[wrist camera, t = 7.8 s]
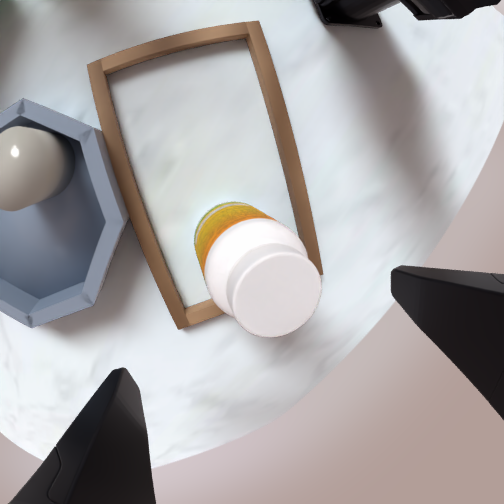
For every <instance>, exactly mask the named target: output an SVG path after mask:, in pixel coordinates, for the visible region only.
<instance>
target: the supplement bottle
mask: <svg viewBox="0 0 504 504" xmlns="http://www.w3.org/2000/svg"><path fill="white" fill-rule="evenodd" d="M194 246H195V251H196V254H197V258H198V260H199V264H200V267H201V270H202V273H203V276H204V280H205V283H206V286H207V288H208V291H209V293H210V296H211V297H212V299H213V301H214V302H215V303H216V305H217V306H218V307H219V308H220V309H221V310H222V311H224V312H225V313H226V314H228V315H230V316H231V317H234V318H236V320H237V321H238V323H239V324H240V325H241V326H242V327H243V328H244V329H245V330H246V331H248V332H249V333H251V334H253V335H256V336H260V337H268V338H272V337H279V336H283V335H286V334H289V333H291V332H293V331H295V330H296V329H298V328H300V327H301V326H302V325H303V324H304V323H306V322H307V321H308V319H309V318H310V317H311V316H312V315H313V313H314V311H315V310H316V308H317V306H318V303H319V301H320V297H321V291H322V284H321V278H320V275H319V272H318V270H317V268H316V267H315V265H314V264H313V263H312V262H311V261H310V260H309V259H308V255H307V252H306V249H305V247H304V245H303V243H302V241H301V240H300V238H299V237H298V236H297V235H296V234H295V233H294V232H293V231H292V230H291V229H289V228H288V227H287V226H285V225H284V224H282V223H280V222H278V221H277V220H275V219H273V218H272V217H270V216H268V215H266V214H265V213H263V212H261V211H260V210H258V209H256V208H254V207H252V206H250V205H248V204H246V203H242V202H236V201H231V202H224V203H221V204H218V205H216V206H214V207H212V208H211V209H210V210H208V211H207V212H206V213H205V214H204V215H203V216H202V218H201V219H200V221H199V223H198V225H197V227H196V230H195V235H194Z"/></svg>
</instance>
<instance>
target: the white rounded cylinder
mask: <svg viewBox="0 0 504 504" xmlns="http://www.w3.org/2000/svg"><path fill="white" fill-rule="evenodd" d="M74 170H75V154H74V150H73V148H72V146H71V144H70V142H69V141H68V140H67V139H66V138H65V137H64V136H62V135H60V134H57V133H52V132H48V131H43V130H38V129H33V128H27V127H21V126H15V127H11V128H9V129H7V130H5V131H3V132H2V133H1V134H0V209H2V210H5V211H11V212H12V211H18V210H21V209H23V208H26V207H28V206H31V205H33V204H36V203H38V202H41V201H44V200H46V199H49V198H52V197H54V196H57V195H58V194H60V193H61V192H63V191H64V190H65V189H66V187H67V186H68V185H69V183H70V181H71V179H72V177H73V174H74Z"/></svg>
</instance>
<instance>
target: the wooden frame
mask: <svg viewBox="0 0 504 504" xmlns="http://www.w3.org/2000/svg"><path fill="white" fill-rule="evenodd" d="M244 38H246V41H247V44H248V47H249V51H250V54H251V57H252V60H253V63H254V67H255V70H256V73H257V76H258V80H259V83H260V86H261V90H262V93H263V97H264V100H265V104H266V107H267V111H268V114H269V118H270V121H271V125H272V129H273V132H274V136H275V140H276V144H277V147H278V151H279V155H280V159H281V163H282V167H283V171H284V175H285V179H286V183H287V187H288V191H289V195H290V200H291V204H292V208H293V213H294V217H295V221H296V226H297V230H298V235H299V238H300V240H301V241H302V243H303V245H304V247H305V249H306V252H307V255H308V259H309V260H310V261H311V262H312V263H313V264H314V265H315V267H316V268H317V270H318V272H319V275H322V274H323V270H322V264H321V259H320V253H319V248H318V242H317V237H316V232H315V227H314V222H313V217H312V212H311V207H310V203H309V198H308V194H307V189H306V185H305V180H304V176H303V172H302V167H301V163H300V159H299V155H298V151H297V147H296V143H295V139H294V135H293V131H292V127H291V124H290V120H289V116H288V112H287V109H286V105H285V102H284V98H283V95H282V91H281V88H280V84H279V81H278V78H277V74H276V71H275V68H274V65H273V61H272V58H271V55H270V52H269V49H268V46H267V43H266V40H265V37H264V34H263V31H262V28H261V25H260V22H259V21H251V22H242V23H234V24H227V25H220V26H214V27H209V28H203V29H198V30H193V31H189V32H184V33H180V34H176V35H172V36H168V37H164V38H161V39H157V40H154V41H150V42H147V43H144V44H141V45H137V46H134V47H131V48H128V49H126V50H123V51H120V52H117V53H115V54H112V55H109V56H107V57H104V58H102V59H99V60H97V61H95V62H92V63H90V64H88V65H87V68H88V74H89V78H90V83H91V88H92V92H93V97H94V101H95V105H96V109H97V113H98V117H99V121H100V125H101V129H102V132H103V136H104V140H105V143H106V147H107V150H108V153H109V157H110V160H111V163H112V167H113V170H114V173H115V176H116V179H117V182H118V185H119V188H120V191H121V194H122V197H123V200H124V203H125V206H126V208H127V211H128V214H129V217H130V219H131V222H132V225H133V227H134V230H135V233H136V235H137V238H138V240H139V243H140V245H141V248H142V250H143V253H144V255H145V258H146V260H147V262H148V265H149V267H150V270H151V272H152V274H153V277H154V279H155V281H156V283H157V286H158V288H159V290H160V292H161V295H162V297H163V299H164V301H165V303H166V305H167V308H168V310H169V312H170V314H171V316H172V318H173V320H174V322H175V324H176V326H177V328H178V330H179V329H182V328H185V327H188V326H191V325H194V324H196V323H199V322H202V321H205V320H208V319H210V318H213V317H216V316H219V315H221V314H224V313H225V312H224V311H222V310H221V309H220V308H219V307H218V306H217V305H216V303H215V302H214V301H213V299H209V300H207V301H204V302H201V303H198V304H196V305H193V306H190V307H187V308H184V306H183V304H182V301H181V299H180V297H179V294H178V292H177V290H176V287H175V285H174V283H173V280H172V278H171V275H170V273H169V271H168V268H167V266H166V263H165V261H164V258H163V256H162V253H161V251H160V248H159V245H158V243H157V240H156V238H155V235H154V232H153V230H152V227H151V224H150V222H149V219H148V216H147V213H146V210H145V208H144V205H143V202H142V199H141V196H140V193H139V190H138V187H137V184H136V181H135V178H134V175H133V172H132V169H131V166H130V162H129V159H128V156H127V153H126V149H125V146H124V142H123V139H122V135H121V132H120V128H119V125H118V121H117V117H116V114H115V110H114V106H113V102H112V98H111V94H110V90H109V85H108V81H107V77H106V75H108V74H110V73H113V72H115V71H118V70H121V69H123V68H126V67H129V66H132V65H135V64H138V63H141V62H144V61H147V60H150V59H153V58H156V57H160V56H163V55H167V54H170V53H174V52H178V51H182V50H186V49H190V48H195V47H199V46H204V45H209V44H214V43H219V42H225V41H231V40H237V39H244Z"/></svg>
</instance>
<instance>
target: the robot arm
mask: <svg viewBox="0 0 504 504" xmlns="http://www.w3.org/2000/svg"><path fill="white" fill-rule="evenodd" d="M313 1H314V3H315V5H316V7H317V10H318V12H319V15H320V18H321V20H322V22H323V23H324V24H326V25H342V26H357V27H368V28H377V29H378V28H380V27H382V23H381V20H380V18H379V15H378V13H379V12H381V11H383V10H385V9H387V8H389V7H391V6H393V5H396V4H398V3H400V2H401V3H402V4H404V5H405V6H406V7H407V8H408V9H409V10H410V11H411V12H412V13H413V14H414V15H413V16H414V17H415V18H416V19H417V20H419V21H420V20H436V19H461V18H463V17H464V16H467V15H469V14H470V13H471V12H472V11H474V10H475V9H476V8H480V7H485V6H491V5H497V4H498V3H499V2H500V1H501V0H313ZM326 18H328V19H329V21H328V20H327V19H326ZM376 23H377V24H376ZM391 293H392V296H393V297H394V298H395V300H396V301H397V302H398V303H399V304H400V305H401V307H402V308H403V309H404V310H405V312H406V313H407V314H408V315H409V317H410V318H411V319H412V320H413V321H414V323H415V324H416V325H417V326H418V327H419V328H420V329H421V330H422V331H423V332H424V333H425V334H426V335H427V336H428V337H429V338H430V339H431V340H432V341H433V342H434V343H435V344H436V345H437V346H438V347H439V348H440V349H441V351H442V352H443V353H444V354H445V355H446V356H447V357H448V358H449V359H450V360H451V361H452V362H453V363H454V364H455V365H456V366H457V367H458V369H460V371H461V372H462V373H463V374H464V375H465V376H466V377H467V378H468V379H469V380H470V382H471V383H472V384H473V385H474V386H475V387H476V388H477V389H478V391H479V392H480V393H481V394H482V395H483V396H484V397H485V398H486V400H487V401H488V402H489V403H490V405H491V406H492V407H493V408H494V409H495V410H496V412H497V413H498V414H499V415H500V416H501V417H502V419H503V420H504V274H496V273H483V272H472V271H461V270H449V269H438V268H426V267H415V266H403V265H401V266H399V267H396V268H394V269H393V270H392V271H391ZM8 504H156V500H155V494H154V487H153V480H152V472H151V463H150V454H149V444H148V434H147V428H146V423H145V417H144V412H143V406H142V400H141V394H140V390H139V387H138V385H137V384H136V382H135V381H134V379H133V378H132V376H131V375H130V373H129V372H128V370H127V369H126V368H119V369H115V370H113V371H112V372H111V373H110V374H109V375H108V377H107V378H106V379H105V381H104V382H103V383H102V384H101V386H100V387H99V388H98V390H97V391H96V392H95V393H94V395H93V396H92V397H91V399H90V400H89V401H88V403H87V404H86V405H85V406H84V408H83V409H82V410H81V412H80V413H79V414H78V416H77V417H76V418H75V420H74V421H73V422H72V424H71V425H70V426H69V428H68V429H67V430H66V432H65V433H64V435H63V436H62V437H61V439H60V440H59V441H58V443H57V444H56V447H54V448H53V450H52V451H51V452H50V454H49V455H48V456H47V458H46V459H45V460H44V462H43V463H42V465H41V466H40V467H39V468H38V469H37V471H36V472H35V473H34V474H33V476H32V477H31V478H30V479H29V480H28V482H27V483H26V484H25V485H24V486H23V487H22V489H21V490H20V491H19V492H18V493H17V495H16V496H15V497H14V498H13V500H11V502H10V503H8Z"/></svg>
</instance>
